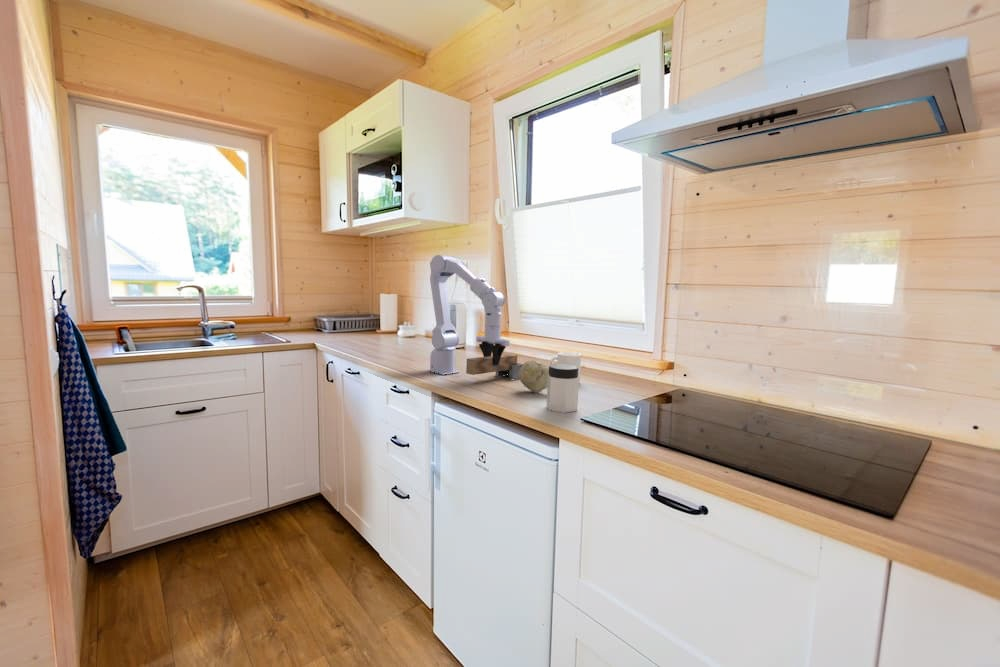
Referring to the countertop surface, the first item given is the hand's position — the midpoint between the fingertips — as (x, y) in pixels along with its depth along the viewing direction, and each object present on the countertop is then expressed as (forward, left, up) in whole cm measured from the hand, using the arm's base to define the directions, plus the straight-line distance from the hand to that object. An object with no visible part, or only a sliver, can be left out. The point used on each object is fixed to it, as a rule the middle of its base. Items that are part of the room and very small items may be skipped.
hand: (491, 364), depth 157 cm
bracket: (0, +9, -6) cm, 11 cm away
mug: (+17, +20, -6) cm, 27 cm away
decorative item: (+21, -1, -6) cm, 22 cm away
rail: (0, 0, -2) cm, 3 cm away
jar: (+38, -10, -6) cm, 40 cm away
